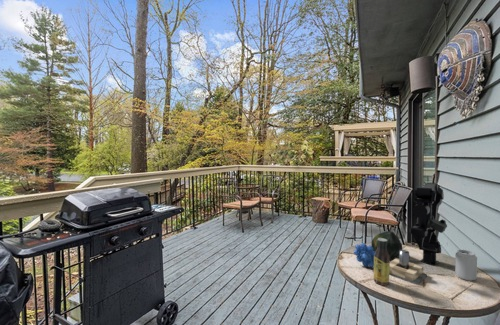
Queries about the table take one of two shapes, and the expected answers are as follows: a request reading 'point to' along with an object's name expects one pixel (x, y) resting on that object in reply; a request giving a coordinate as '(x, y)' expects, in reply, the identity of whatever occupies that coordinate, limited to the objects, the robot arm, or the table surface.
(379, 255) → the sauce bottle
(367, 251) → the grapes
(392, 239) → the squash
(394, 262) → the socket
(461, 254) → the can
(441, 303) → the table surface
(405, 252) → the peg
